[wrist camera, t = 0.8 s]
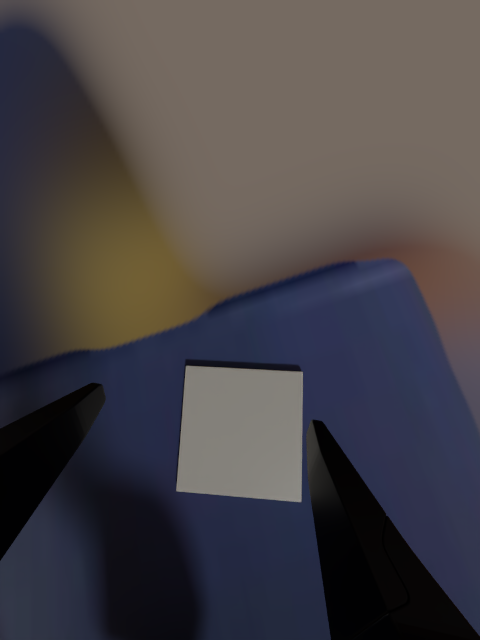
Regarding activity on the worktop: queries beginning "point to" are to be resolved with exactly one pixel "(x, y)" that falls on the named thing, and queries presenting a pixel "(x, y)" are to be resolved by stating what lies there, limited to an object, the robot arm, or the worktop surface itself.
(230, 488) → the place mat
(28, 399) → the worktop surface
